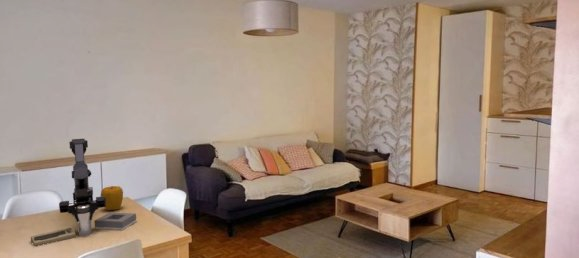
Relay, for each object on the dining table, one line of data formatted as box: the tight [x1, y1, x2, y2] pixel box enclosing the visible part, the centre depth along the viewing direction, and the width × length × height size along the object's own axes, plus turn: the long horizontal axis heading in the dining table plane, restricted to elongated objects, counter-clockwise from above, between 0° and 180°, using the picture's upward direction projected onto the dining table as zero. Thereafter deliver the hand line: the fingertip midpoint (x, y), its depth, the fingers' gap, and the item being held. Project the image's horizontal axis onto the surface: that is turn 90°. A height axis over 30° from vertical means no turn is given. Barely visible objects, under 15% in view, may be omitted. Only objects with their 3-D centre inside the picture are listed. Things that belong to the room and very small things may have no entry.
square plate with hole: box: [93, 212, 137, 231], centre depth 195 cm, size 14×12×4 cm
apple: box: [100, 185, 124, 211], centre depth 219 cm, size 11×11×13 cm
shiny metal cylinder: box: [77, 204, 92, 237], centre depth 182 cm, size 5×5×13 cm
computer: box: [30, 227, 77, 247], centre depth 177 cm, size 16×8×3 cm, turn 132°
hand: (84, 220), depth 181 cm, fingers closed on shiny metal cylinder, 5 cm apart
